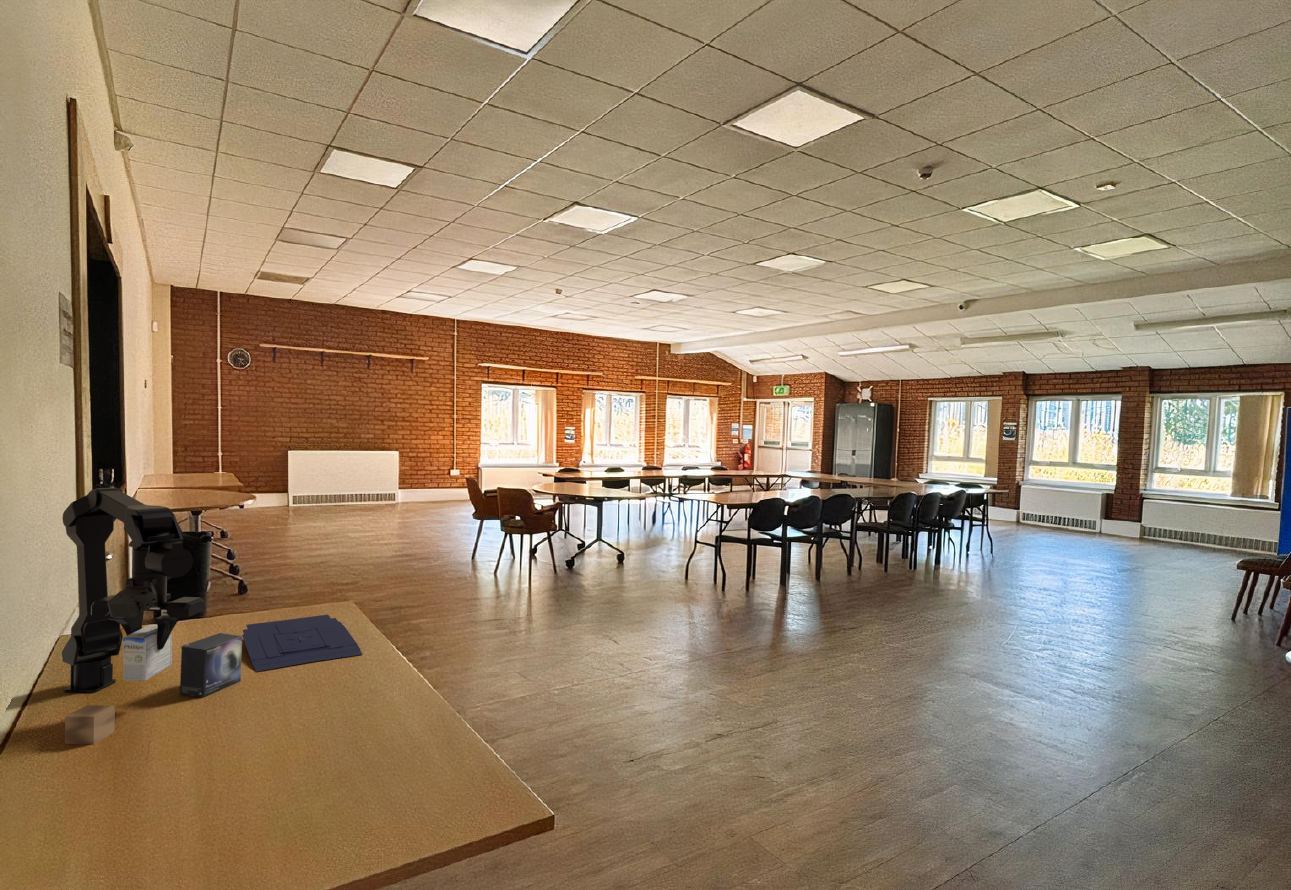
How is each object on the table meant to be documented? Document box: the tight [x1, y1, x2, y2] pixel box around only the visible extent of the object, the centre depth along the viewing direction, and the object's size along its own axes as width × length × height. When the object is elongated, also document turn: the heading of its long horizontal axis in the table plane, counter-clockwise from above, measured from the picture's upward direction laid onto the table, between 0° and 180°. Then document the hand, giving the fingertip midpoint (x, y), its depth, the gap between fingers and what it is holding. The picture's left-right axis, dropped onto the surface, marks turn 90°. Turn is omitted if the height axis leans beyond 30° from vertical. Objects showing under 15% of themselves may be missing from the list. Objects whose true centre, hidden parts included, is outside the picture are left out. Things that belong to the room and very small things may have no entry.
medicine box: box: [122, 624, 173, 682], centre depth 138 cm, size 8×4×9 cm, turn 2°
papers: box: [241, 614, 363, 672], centre depth 180 cm, size 24×30×4 cm
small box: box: [178, 632, 243, 698], centre depth 151 cm, size 11×6×10 cm, turn 168°
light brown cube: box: [64, 704, 116, 745], centre depth 126 cm, size 5×5×5 cm
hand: (148, 649), depth 138 cm, fingers closed on medicine box, 4 cm apart
